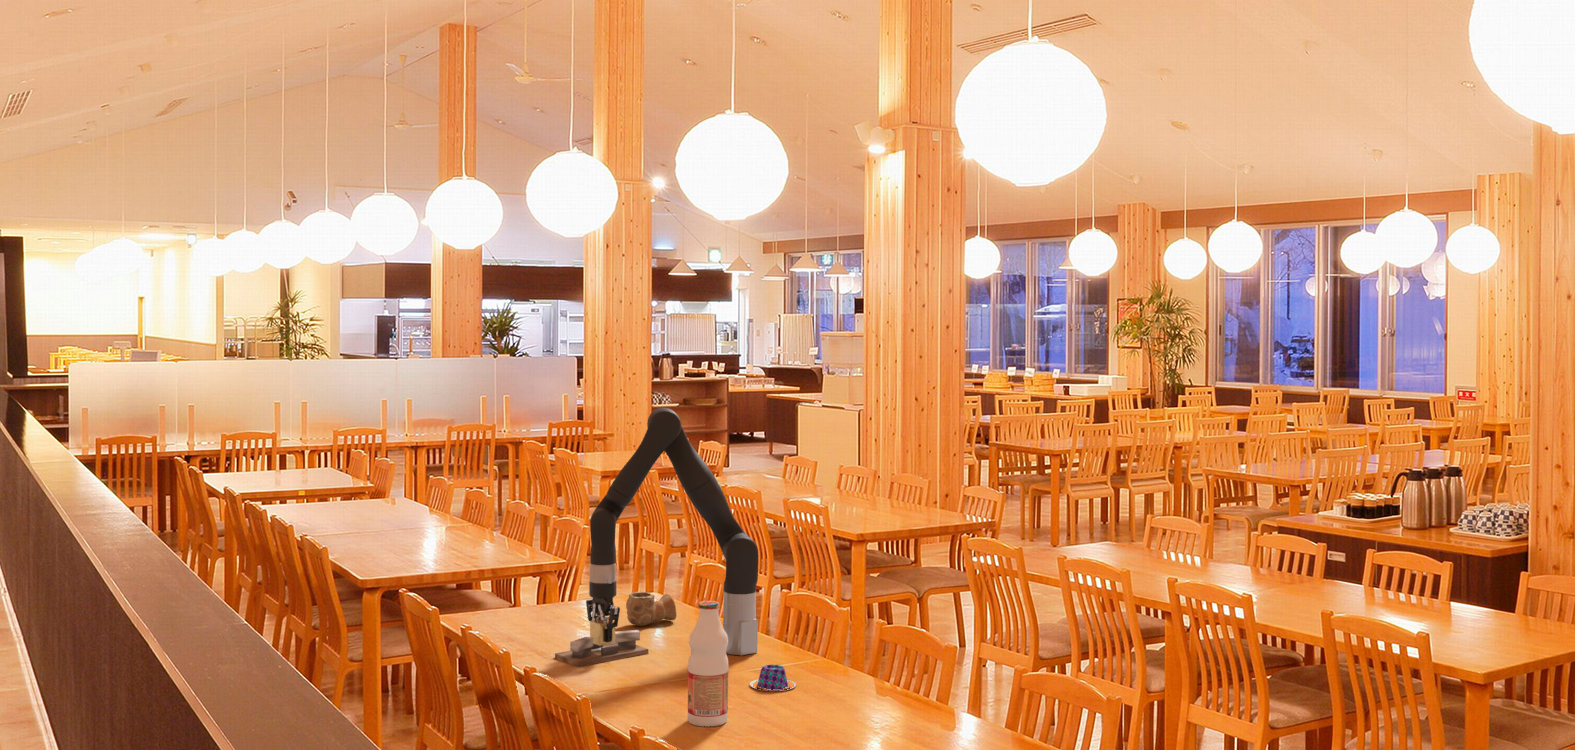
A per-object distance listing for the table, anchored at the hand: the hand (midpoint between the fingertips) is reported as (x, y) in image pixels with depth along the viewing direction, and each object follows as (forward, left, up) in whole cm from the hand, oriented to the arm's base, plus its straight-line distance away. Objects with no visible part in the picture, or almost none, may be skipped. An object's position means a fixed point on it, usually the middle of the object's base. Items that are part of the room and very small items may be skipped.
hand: (602, 639), depth 355 cm
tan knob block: (0, 0, -1) cm, 1 cm away
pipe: (+22, -32, -5) cm, 39 cm away
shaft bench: (0, 0, -4) cm, 4 cm away
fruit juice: (-65, +13, -5) cm, 66 cm away
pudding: (-52, -18, -5) cm, 55 cm away
